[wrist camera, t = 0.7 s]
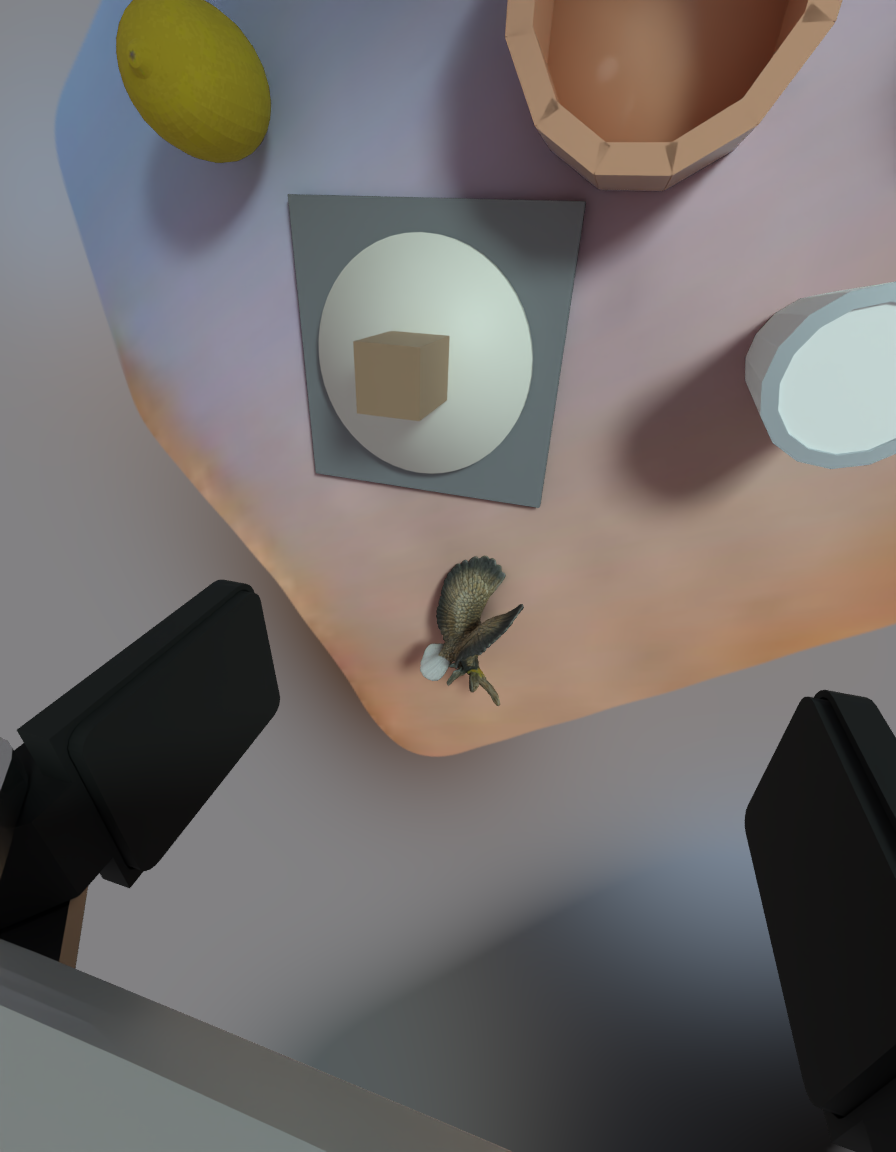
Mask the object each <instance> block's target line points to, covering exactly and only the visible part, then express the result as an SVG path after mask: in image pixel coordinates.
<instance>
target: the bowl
mask: <svg viewBox="0 0 896 1152" xmlns="http://www.w3.org/2000/svg"><path fill="white" fill-rule="evenodd" d="M841 3H842V0H508V3H507V17H506V31H505V37H506V38H505V39H506V42H507V45H508V48H509V51H510V54H511V57H512V60H513V63H514V65H515V68H516V71H517V74H518V77H519V80H520V83H521V86H522V89H523V92H524V95H525V98H526V101H527V104H528V107H529V110H530V113H531V116H532V119H533V122H534V125H535V127H536V129H537V130H538V132H539V133H540V135H541V136H542V138H543V139H544V141H545V143H546V144H547V146H548V147H549V149H550V150H551V151H552V152H553V153H554V154H556V155H557V156H558V157H559V158H561V159H562V160H563V161H564V162H565V163H567V164H568V165H569V166H570V167H572V168H573V169H574V170H575V171H576V172H578V173H579V174H580V175H581V176H583V177H584V178H585V179H586V180H588V181H589V182H590V183H591V184H592V185H594V186H595V187H596V188H597V189H599V190H633V191H663V190H664V191H665V190H666V189H668V188H670V187H671V186H673V185H675V184H677V183H678V182H680V181H682V180H684V179H685V178H687V177H689V176H690V175H692V174H694V173H696V172H697V171H699V170H701V169H702V168H704V167H706V166H708V165H709V164H711V163H713V162H715V161H716V160H718V159H720V158H721V157H723V156H725V155H727V154H728V153H730V152H732V151H733V150H734V149H735V148H736V147H737V146H738V145H739V144H740V143H741V142H742V141H743V140H744V139H745V138H746V137H747V136H748V135H749V134H750V133H751V132H752V131H753V129H754V128H755V127H756V126H757V125H758V124H759V123H760V122H761V120H762V119H763V118H764V116H765V115H766V114H767V112H768V111H769V110H770V108H771V107H772V106H773V104H774V103H775V102H776V100H777V99H778V98H779V96H780V95H781V94H782V92H783V91H784V90H785V88H786V87H787V86H788V84H789V83H790V82H791V80H792V79H793V78H794V76H795V75H796V74H797V73H798V71H799V70H800V69H801V67H802V66H803V65H804V63H805V62H806V61H807V59H808V58H809V57H810V55H811V54H812V53H813V51H814V50H815V49H816V47H817V46H818V45H819V43H820V42H821V41H822V39H823V38H824V37H825V35H826V34H827V33H828V31H829V30H830V29H831V27H832V26H833V25H834V23H835V21H836V19H837V16H838V13H839V9H840V6H841Z"/></svg>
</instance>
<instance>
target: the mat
mask: <svg viewBox="0 0 896 1152" xmlns="http://www.w3.org/2000/svg"><path fill="white" fill-rule="evenodd" d="M288 202H289V211H290V221H291V231H292V241H293V251H294V261H295V271H296V281H297V291H298V301H299V311H300V321H301V331H302V341H303V351H304V360H305V370H306V380H307V390H308V400H309V410H310V420H311V430H312V440H313V450H314V460H315V470H316V473H318V474H325V475H331V476H338V477H344V478H351V479H357V480H363V481H370V482H376V483H383V484H389V485H395V486H402V487H408V488H415V489H421V490H427V491H434V492H440V493H447V494H453V495H460V496H466V497H472V498H479V499H485V500H492V501H498V502H504V503H511V504H517V505H524V506H530V507H537V508H539V507H540V504H541V497H542V491H543V484H544V477H545V471H546V464H547V457H548V451H549V444H550V438H551V431H552V424H553V418H554V411H555V404H556V398H557V391H558V384H559V378H560V371H561V364H562V358H563V351H564V344H565V338H566V331H567V325H568V318H569V311H570V305H571V298H572V291H573V285H574V278H575V271H576V265H577V258H578V251H579V245H580V238H581V232H582V225H583V218H584V212H585V205H586V202H585V201H546V200H504V199H463V198H421V197H380V196H338V195H296V194H288ZM411 232H425V233H433V234H440V235H444V236H447V237H451V238H454V239H457V240H459V241H461V242H463V243H466V244H468V245H470V246H472V247H473V248H475V249H476V250H478V251H479V252H481V253H482V254H484V255H485V256H486V257H487V258H488V259H489V260H490V261H492V262H493V263H494V264H495V265H496V266H497V267H498V268H499V270H500V271H501V272H502V273H503V274H504V275H505V277H506V278H507V279H508V281H509V282H510V284H511V285H512V287H513V289H514V290H515V292H516V293H517V295H518V297H519V300H520V302H521V304H522V306H523V308H524V311H525V314H526V317H527V320H528V323H529V327H530V333H531V338H532V346H533V372H532V379H531V385H530V390H529V393H528V396H527V400H526V403H525V405H524V408H523V410H522V412H521V414H520V416H519V418H518V420H517V421H516V423H515V425H514V426H513V428H512V429H511V431H510V432H509V434H508V435H507V436H506V437H505V439H504V440H503V441H502V442H501V443H500V444H499V445H498V446H497V447H496V448H495V449H494V450H493V451H492V452H491V453H489V454H488V455H487V456H485V457H484V458H482V459H481V460H479V461H477V462H475V463H473V464H472V465H470V466H468V467H465V468H462V469H459V470H456V471H451V472H445V473H432V474H430V473H418V472H413V471H409V470H405V469H402V468H399V467H396V466H394V465H392V464H389V463H387V462H385V461H383V460H382V459H380V458H379V457H377V456H375V455H374V454H372V453H371V452H370V451H369V450H367V449H366V448H365V447H364V446H363V445H361V444H360V443H359V442H358V441H357V440H356V439H355V438H354V436H353V435H352V434H351V433H350V432H349V430H348V429H347V428H346V427H345V425H344V424H343V423H342V421H341V419H340V418H339V416H338V415H337V413H336V411H335V409H334V407H333V405H332V403H331V401H330V399H329V396H328V393H327V391H326V388H325V385H324V381H323V377H322V373H321V367H320V360H319V329H320V322H321V317H322V312H323V309H324V306H325V303H326V300H327V297H328V295H329V292H330V290H331V288H332V286H333V284H334V282H335V281H336V279H337V278H338V276H339V275H340V273H341V272H342V270H343V269H344V268H345V267H346V266H347V264H348V263H349V262H350V261H351V260H352V259H353V258H354V257H355V256H356V255H358V254H359V253H360V252H361V251H362V250H364V249H365V248H367V247H368V246H370V245H372V244H373V243H375V242H377V241H379V240H382V239H384V238H387V237H389V236H393V235H397V234H402V233H411Z"/></svg>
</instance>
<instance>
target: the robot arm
mask: <svg viewBox="0 0 896 1152" xmlns="http://www.w3.org/2000/svg"><path fill="white" fill-rule="evenodd" d="M279 702H280V695H279V690H278V685H277V680H276V675H275V670H274V665H273V660H272V655H271V650H270V645H269V640H268V635H267V630H266V625H265V621H264V615H263V610H262V605H261V600H260V598H259V596H258V595H257V594H255V593H254V590H253V589H252V587H251V586H250V585H248V584H244V583H238V582H233V581H227V580H217V581H215V582H213V583H212V584H211V585H209V586H208V587H207V588H205V589H204V590H203V591H201V592H200V593H199V594H197V595H196V596H195V597H193V598H192V599H191V600H190V601H188V602H187V603H185V604H184V605H183V606H181V607H180V608H179V609H178V610H176V611H175V612H173V613H172V614H171V615H169V616H168V617H167V618H165V619H164V620H163V621H161V622H160V623H159V624H157V625H156V626H155V627H153V628H152V629H151V630H149V631H148V632H147V633H145V634H144V635H143V636H141V637H140V638H139V639H137V640H136V641H135V642H133V643H132V644H131V645H129V646H128V647H127V648H125V649H124V650H123V651H121V652H120V653H119V654H117V655H116V656H115V657H113V658H112V659H111V660H109V661H108V662H107V663H105V664H104V665H103V666H101V667H100V668H99V669H97V670H96V671H95V672H93V673H92V674H91V675H89V676H88V677H87V678H85V679H84V680H83V681H81V682H80V683H79V684H77V685H76V686H75V687H73V688H72V689H71V690H69V691H68V692H67V693H65V694H64V695H63V696H61V697H60V698H59V699H57V700H56V701H55V702H53V703H52V704H51V705H49V706H48V707H47V708H45V709H44V710H43V711H41V712H40V713H39V714H37V715H36V716H35V717H33V718H32V719H31V720H29V721H28V722H27V723H25V724H24V725H23V726H22V727H20V728H19V729H17V731H18V733H19V735H20V737H21V738H22V740H23V742H24V743H23V744H22V745H21V746H19V747H18V748H17V749H16V750H13V748H12V747H11V745H10V744H9V742H8V741H7V740H5V739H3V738H0V1152H512V1151H509V1150H507V1149H505V1148H503V1147H500V1146H498V1145H496V1144H493V1143H491V1142H489V1141H486V1140H484V1139H481V1138H479V1137H477V1136H474V1135H472V1134H470V1133H467V1132H465V1131H463V1130H460V1129H458V1128H455V1127H453V1126H451V1125H448V1124H446V1123H444V1122H441V1121H439V1120H437V1119H434V1118H432V1117H429V1116H427V1115H425V1114H422V1113H420V1112H418V1111H415V1110H413V1109H410V1108H408V1107H406V1106H403V1105H401V1104H398V1103H396V1102H394V1101H391V1100H389V1099H387V1098H384V1097H382V1096H379V1095H377V1094H375V1093H372V1092H370V1091H367V1090H365V1089H363V1088H360V1087H358V1086H356V1085H353V1084H351V1083H348V1082H346V1081H344V1080H341V1079H339V1078H336V1077H334V1076H332V1075H329V1074H327V1073H325V1072H322V1071H320V1070H318V1069H315V1068H313V1067H310V1066H308V1065H305V1064H303V1063H301V1062H298V1061H296V1060H294V1059H291V1058H289V1057H286V1056H284V1055H282V1054H279V1053H277V1052H274V1051H272V1050H270V1049H267V1048H265V1047H263V1046H260V1045H258V1044H255V1043H253V1042H251V1041H248V1040H246V1039H243V1038H241V1037H239V1036H236V1035H234V1034H232V1033H229V1032H227V1031H224V1030H222V1029H220V1028H217V1027H215V1026H212V1025H210V1024H208V1023H205V1022H203V1021H200V1020H198V1019H195V1018H193V1017H191V1016H188V1015H185V1014H184V1013H181V1012H178V1011H176V1010H174V1009H171V1008H169V1007H167V1006H164V1005H161V1004H159V1003H157V1002H154V1001H152V1000H150V999H147V998H145V997H142V996H140V995H137V994H135V993H133V992H130V991H128V990H125V989H123V988H121V987H118V986H116V985H113V984H111V983H108V982H106V981H103V980H101V979H99V978H96V977H94V976H91V975H89V974H87V973H84V972H82V971H79V970H77V969H76V962H77V955H78V949H79V942H80V936H81V929H82V922H83V916H84V910H85V903H86V897H87V890H88V885H89V884H90V883H91V882H92V881H93V880H94V879H95V877H96V876H97V875H98V874H99V873H100V874H101V875H102V878H103V879H105V880H108V881H111V882H114V883H116V884H119V885H122V886H125V887H128V888H130V887H131V886H132V885H133V884H134V882H135V881H136V880H137V879H138V877H139V876H140V875H141V873H142V872H143V871H147V870H150V869H151V868H153V867H154V866H155V865H156V864H157V863H158V862H159V861H160V860H161V858H162V857H163V856H164V854H165V853H166V852H167V851H168V849H169V848H170V847H171V845H172V844H173V843H174V841H176V839H177V837H179V835H180V834H181V833H182V831H183V830H184V829H185V828H186V827H187V825H188V824H189V823H190V822H191V820H192V819H193V818H194V816H195V815H196V814H197V813H198V811H199V810H200V809H201V807H202V806H203V805H204V804H205V803H206V801H207V800H208V798H209V797H210V796H211V795H212V794H213V792H214V791H215V790H216V788H217V787H218V786H219V785H220V783H221V782H222V781H223V780H224V778H225V777H226V776H227V775H228V773H229V772H230V771H231V770H232V768H233V767H234V766H235V764H236V763H237V762H238V761H239V759H240V758H241V757H242V755H243V754H244V753H245V752H246V750H247V749H248V748H249V747H250V745H251V744H252V743H253V742H254V740H255V739H256V738H257V736H258V735H259V734H260V733H261V731H262V730H263V729H264V727H265V726H266V725H267V724H268V723H269V721H270V720H271V719H272V718H273V716H274V715H275V713H276V711H277V709H278V706H279ZM745 831H746V836H747V840H748V845H749V849H750V853H751V857H752V862H753V866H754V870H755V875H756V879H757V883H758V888H759V892H760V896H761V900H762V905H763V909H764V914H765V918H766V922H767V927H768V931H769V935H770V940H771V944H772V948H773V953H774V957H775V961H776V966H777V970H778V974H779V979H780V982H781V987H782V992H783V996H784V1000H785V1004H786V1008H787V1013H788V1017H789V1021H790V1026H791V1030H792V1035H793V1039H794V1043H795V1048H796V1052H797V1056H798V1061H799V1065H800V1069H801V1074H802V1078H803V1082H804V1085H805V1089H806V1092H807V1094H808V1096H809V1098H810V1100H811V1102H812V1103H813V1104H814V1105H815V1106H816V1107H818V1108H820V1109H823V1111H824V1115H825V1119H826V1123H827V1127H828V1131H829V1135H830V1140H831V1143H833V1144H836V1145H839V1146H842V1147H844V1148H847V1149H850V1150H853V1151H855V1152H896V737H895V736H894V734H893V732H892V731H891V729H890V728H889V726H888V724H887V723H886V721H885V719H884V718H883V716H882V714H881V713H880V711H879V709H878V708H877V706H876V705H875V704H874V703H873V701H872V700H870V699H868V698H866V697H861V696H855V695H850V694H844V693H838V692H833V691H828V690H821V691H819V692H818V693H817V694H816V695H815V696H814V698H812V697H804V698H803V699H802V700H801V701H800V703H799V705H798V707H797V709H796V711H795V713H794V715H793V717H792V719H791V721H790V723H789V725H788V727H787V729H786V731H785V733H784V735H783V737H782V739H781V741H780V743H779V745H778V747H777V749H776V751H775V753H774V755H773V757H772V759H771V761H770V763H769V765H768V767H767V769H766V771H765V773H764V774H763V776H762V778H761V781H760V783H759V785H758V787H757V788H756V790H755V792H754V795H753V796H752V799H751V800H750V803H749V804H748V807H747V809H746V814H745Z"/></svg>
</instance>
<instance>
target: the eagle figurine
mask: <svg viewBox="0 0 896 1152" xmlns="http://www.w3.org/2000/svg"><path fill="white" fill-rule="evenodd" d="M504 578H505V574H504V573H503V572H502V570H501V566H500V565H496V561H495V559H493V558H491V559H489V558H488V556H483V557H481V558H478V557H473V558H472V559H471V560H470V561H469V563H468V562H467V560H464V561H463V562H462V564H461V565H460V564H457V565H456V566H455V567H454V568H453V569H452V570H451V572H449V573H448V575H447V578H446V579H445V580H444V586H443V588H442V590H441V595H442V596H440V600H439V606H438V607H437V611H436V612H437V615H436V617H437V624H438V628H439V629H440V630H441V634H442V635H443V640H444V641H445V643H444V644H430V645H429V646H428V647H427V648H426V650H425V652H424V655H423V658H422V660H421V667H420V671H421V672H422V674H423V676H424V677H425V678H427V679H429V680H432V681H437V680H439V679H441V678H442V677H443V675H444V674H445V672H446V671H447V669H448V667H454V668H455V669H457V668H458V669H457V670H455V671H454V672H453V673H452V675H451V677H450V678H449V679H448V681H447V685H450V684H451V683H452V682H453V681H454V680H455V679H457V678H458V677H460V676H462V675H464V674H465V673H467V674H468V675H469V689H470V691H471V692H474V691H476V690H477V688H478V686H479V684H480V685H481V686H482V687H483V688H484V689H485V690H486V691H487V692H488V694H489V695H490V696H491V698H492V700H493V702H494V703H495V704H496V705H497V706H499V705H500V700H499V697H498V694H497V693H496V691H495V689H494V688H493V686H492V685H491V684H490V683H489V682H488V681H487V680H486V677H485V675H484V674H483V672H482V671H481V670H480V668H479V662H478V655H481V654H482V653H483V652H485V651H486V648H489V647H490V646H491V644H493V643H494V642H495V641H496V640H497V639H498V638H499V637H500V636H501V635H502V634H504V633H505V632H506V631H507V629H508V628H509V627H510V626H511V625H512V624H513V621H514V620H515V618H516V617H517V616H518V614H519V613H520V612H521V611H522V610H523V608H524V606H523V604H520V605H519V606H518V607H516V608H515V609H513V610H512V611H509V612H508V613H506V614H502V615H499V616H495V617H492V618H490V619H488V620H486V621H485V622H483V623H482V624H481V622H480V617H481V613H482V611H483V609H484V607H485V605H486V603H487V601H488V599H489V597H490V596H491V595H492V593H493V592H494V591H495V590H496V589H497V588H498V586H499V585H500V584H501V583H502V581H503V579H504ZM453 661H455V663H452V662H453Z"/></svg>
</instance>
